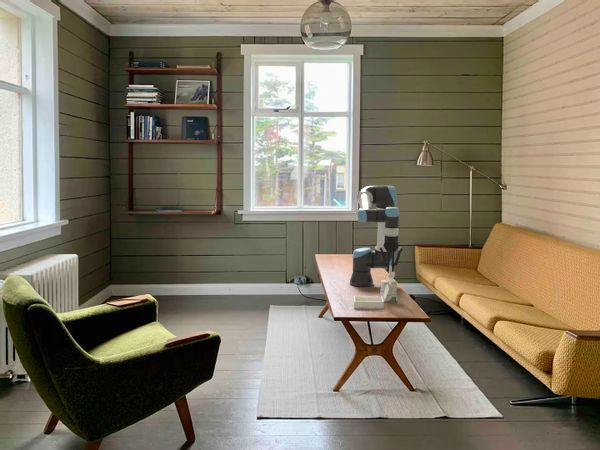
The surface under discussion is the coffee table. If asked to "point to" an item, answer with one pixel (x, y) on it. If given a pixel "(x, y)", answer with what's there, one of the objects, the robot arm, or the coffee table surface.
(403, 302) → the coffee table surface
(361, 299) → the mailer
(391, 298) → the ink box
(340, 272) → the coffee table surface
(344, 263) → the coffee table surface
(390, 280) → the lid
